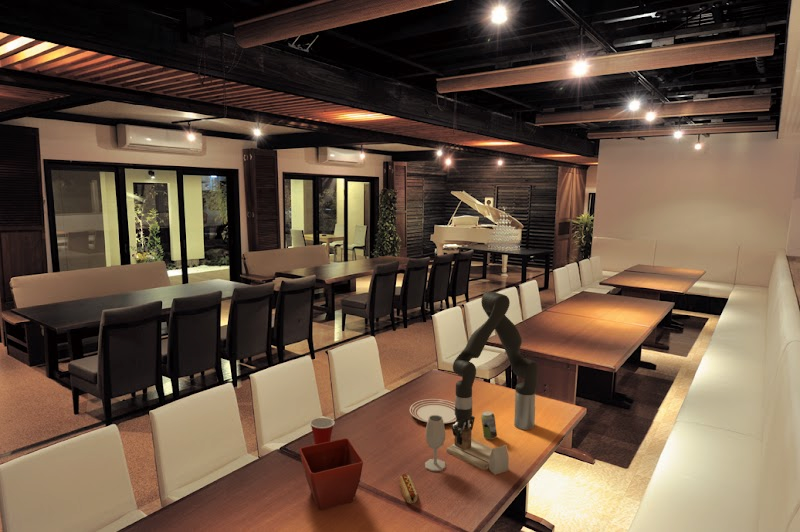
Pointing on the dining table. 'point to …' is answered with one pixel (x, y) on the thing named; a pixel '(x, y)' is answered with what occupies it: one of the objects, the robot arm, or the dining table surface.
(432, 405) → the dinner plate
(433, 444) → the wineglass
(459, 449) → the board
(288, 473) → the dining table surface
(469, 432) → the block
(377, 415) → the dining table surface
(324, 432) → the plastic cup
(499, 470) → the tea bag
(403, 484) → the food
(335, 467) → the plant pot
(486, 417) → the beverage can
